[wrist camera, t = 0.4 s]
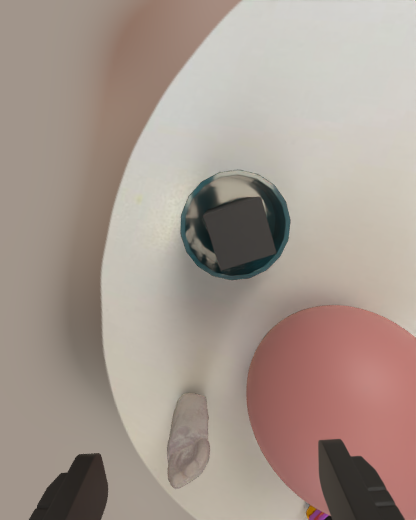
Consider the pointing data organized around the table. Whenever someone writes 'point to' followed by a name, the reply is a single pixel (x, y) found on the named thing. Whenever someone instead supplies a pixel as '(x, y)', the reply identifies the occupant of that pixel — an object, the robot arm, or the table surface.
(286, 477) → the balloon
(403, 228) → the table surface
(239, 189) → the tin
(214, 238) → the black block
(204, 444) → the fossil
